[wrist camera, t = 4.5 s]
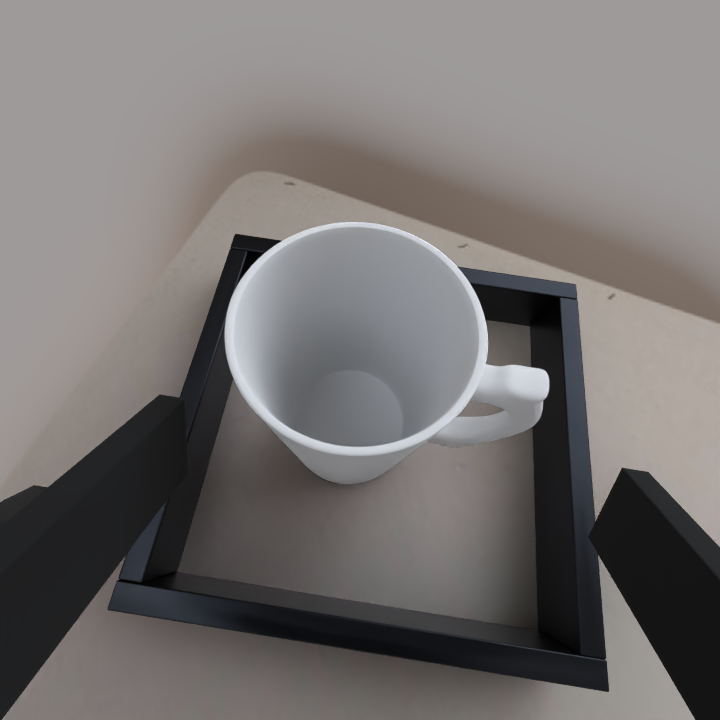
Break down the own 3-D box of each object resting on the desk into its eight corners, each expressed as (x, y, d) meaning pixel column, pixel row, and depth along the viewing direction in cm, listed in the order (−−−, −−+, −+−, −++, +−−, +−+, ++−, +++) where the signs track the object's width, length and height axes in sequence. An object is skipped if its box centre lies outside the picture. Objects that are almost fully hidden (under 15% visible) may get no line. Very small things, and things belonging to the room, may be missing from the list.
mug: (270, 472, 20) (180, 416, 9) (305, 356, 22) (271, 200, 11) (461, 519, 20) (620, 524, 8) (476, 395, 22) (612, 273, 11)
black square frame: (149, 593, 18) (106, 610, 14) (248, 270, 25) (234, 233, 21) (560, 660, 17) (610, 692, 14) (545, 314, 24) (576, 283, 21)
